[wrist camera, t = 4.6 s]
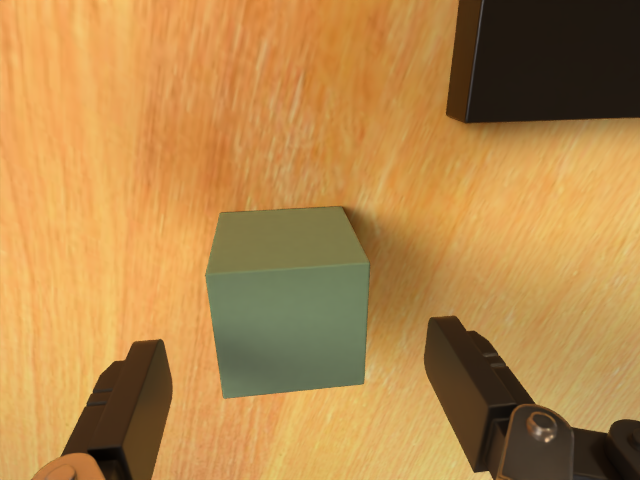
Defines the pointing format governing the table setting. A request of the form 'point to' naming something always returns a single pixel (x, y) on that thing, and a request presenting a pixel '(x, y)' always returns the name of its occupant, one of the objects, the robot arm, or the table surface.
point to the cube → (288, 301)
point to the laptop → (545, 61)
